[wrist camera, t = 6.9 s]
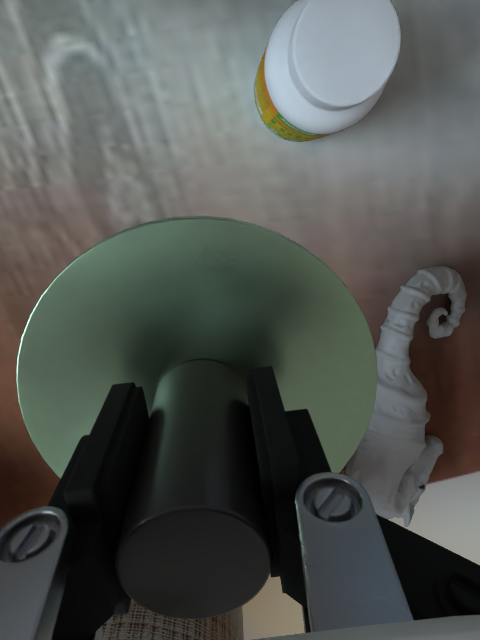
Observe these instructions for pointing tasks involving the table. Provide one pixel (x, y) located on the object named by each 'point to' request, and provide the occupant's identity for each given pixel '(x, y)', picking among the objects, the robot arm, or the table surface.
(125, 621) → the planter
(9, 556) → the robot arm
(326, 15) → the supplement bottle
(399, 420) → the seahorse
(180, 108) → the table surface
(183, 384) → the lid
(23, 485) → the table surface
